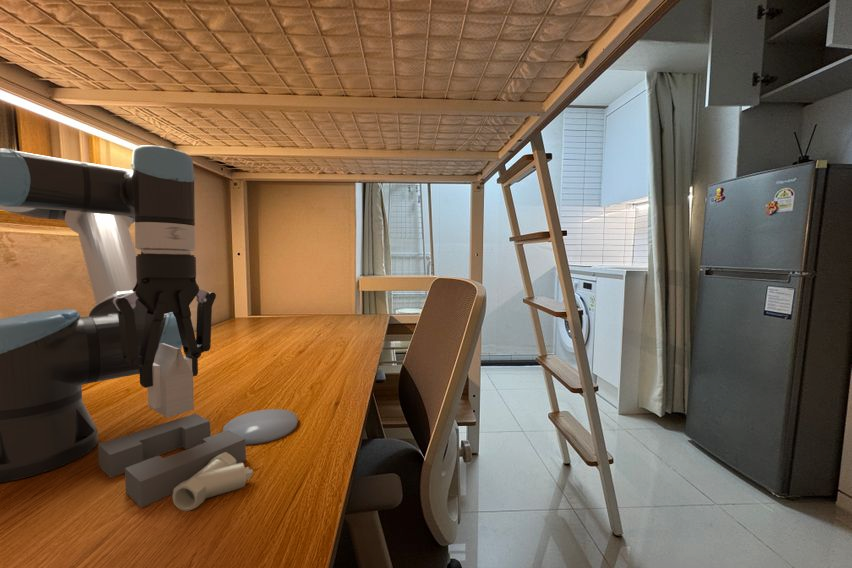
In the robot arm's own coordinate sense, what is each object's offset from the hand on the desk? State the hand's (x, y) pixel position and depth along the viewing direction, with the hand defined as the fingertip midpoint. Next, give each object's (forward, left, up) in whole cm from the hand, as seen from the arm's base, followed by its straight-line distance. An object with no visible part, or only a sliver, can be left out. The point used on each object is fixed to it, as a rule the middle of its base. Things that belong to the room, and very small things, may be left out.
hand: (170, 401), depth 57 cm
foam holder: (0, 0, -10) cm, 10 cm away
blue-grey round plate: (0, +15, -10) cm, 18 cm away
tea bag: (0, 0, -1) cm, 1 cm away
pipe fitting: (+14, 0, -10) cm, 17 cm away
